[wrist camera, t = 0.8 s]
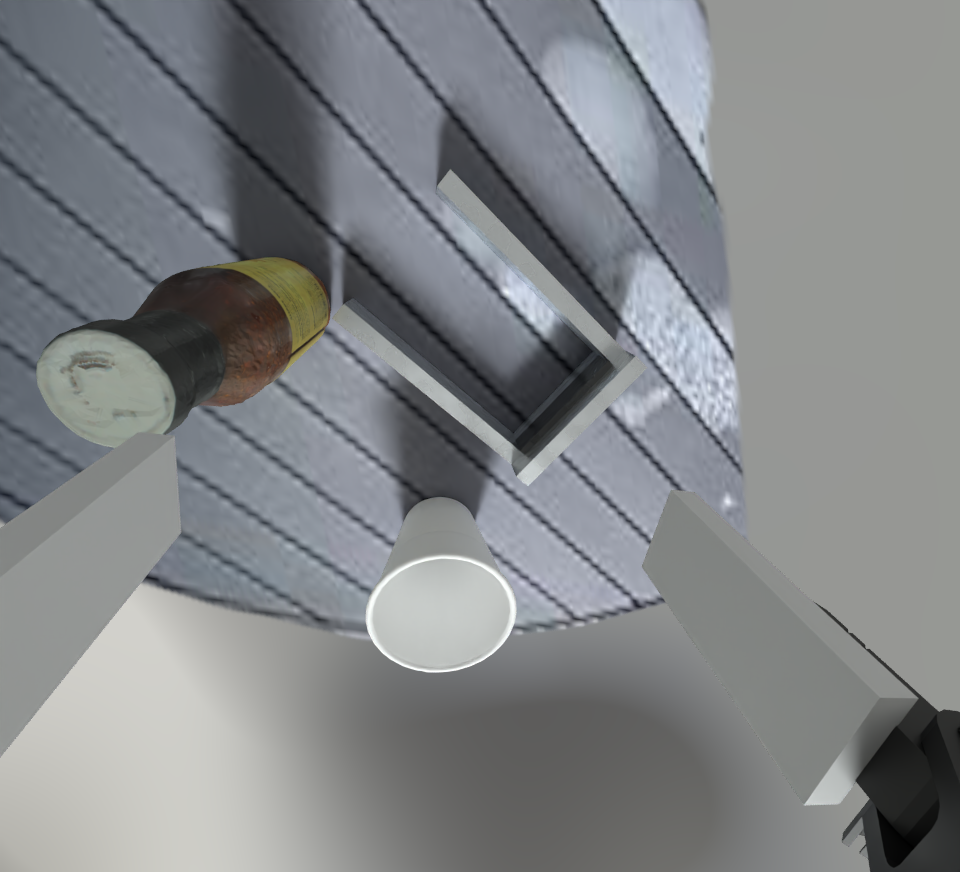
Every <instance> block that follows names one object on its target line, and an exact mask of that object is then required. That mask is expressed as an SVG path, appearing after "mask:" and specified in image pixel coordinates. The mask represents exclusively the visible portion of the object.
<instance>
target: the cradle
mask: <svg viewBox="0 0 960 872" xmlns="http://www.w3.org/2000/svg"><path fill="white" fill-rule="evenodd" d="M436 194H437V195H438V196H439V197H440V198H441V199H442V200H443V201H444V202H445V203H446V204H447V205H448V206H449V207H450V208H451V209H452V210H453V211H454V212H455V213H456V214H457V216H458V217H459V218H460V219H461V220H462V221H463V222H464V223H465V224H466V225H467V226H468V227H469V228H470V229H471V230H472V231H473V232H474V233H475V234H476V235H477V236H478V237H479V238H480V239H481V240H482V241H483V242H484V243H485V244H486V245H487V246H488V247H489V248H490V249H491V250H492V251H493V252H494V253H495V254H496V255H497V256H498V257H499V258H500V259H501V260H502V261H503V262H504V263H505V264H506V265H507V266H508V267H509V268H510V269H511V270H512V271H513V272H514V273H515V274H516V275H517V276H518V277H519V278H520V279H521V280H522V281H523V282H524V283H525V284H526V285H527V286H528V287H529V288H530V289H531V290H532V291H533V292H534V293H535V294H536V295H537V296H538V297H539V298H540V299H541V300H542V301H543V302H544V303H545V304H546V305H547V306H548V307H549V308H550V309H551V310H552V311H553V312H554V313H555V314H556V315H557V316H558V317H559V318H560V319H561V320H562V321H563V322H564V323H565V324H566V325H567V326H568V327H569V328H570V329H571V330H572V331H573V332H574V333H575V334H576V335H577V336H578V337H579V338H580V339H581V340H582V341H583V342H584V343H585V344H586V345H587V346H588V347H589V348H590V349H591V350H592V351H593V352H592V353H591V354H590V355H589V356H588V357H587V358H586V359H585V360H584V361H583V362H582V363H581V364H580V365H579V366H578V367H577V368H576V369H575V370H574V371H573V372H572V373H571V374H570V375H569V376H568V377H567V378H566V379H565V381H564V382H563V383H562V384H561V385H560V386H559V387H558V388H557V389H556V390H555V391H554V392H553V393H552V394H551V395H550V396H549V397H548V398H547V399H546V400H545V401H544V402H543V403H542V404H541V405H540V406H539V407H538V408H537V409H536V411H535V412H534V413H533V414H532V415H531V416H530V417H529V418H528V419H527V420H526V421H525V422H524V423H523V424H522V425H521V426H520V427H519V428H518V429H517V430H516V431H515V432H514V433H512V432H511V431H510V430H509V429H507V428H506V427H505V426H504V425H503V424H502V423H500V422H499V421H498V420H497V419H496V418H494V417H493V416H492V415H491V414H490V413H489V412H487V411H486V410H485V409H484V408H483V407H482V406H480V405H479V404H478V403H477V402H476V401H474V400H473V399H472V398H471V397H470V396H469V395H467V394H466V393H465V392H464V391H463V390H461V389H460V388H459V387H458V386H457V385H456V384H454V383H453V382H452V381H451V380H450V379H448V378H447V377H446V376H445V375H444V374H443V373H441V372H440V371H439V370H438V369H437V368H435V367H434V366H433V365H432V364H431V363H430V362H428V361H427V360H426V359H425V358H424V357H423V356H421V355H420V354H419V353H418V352H417V351H415V350H414V349H413V348H412V347H411V346H410V345H408V344H407V343H406V342H405V341H404V340H402V339H401V338H400V337H399V336H398V335H397V334H395V333H394V332H393V331H392V330H391V329H389V328H388V327H387V326H386V325H385V324H384V323H382V322H381V321H380V320H379V319H378V318H376V317H375V316H374V315H373V314H372V313H371V312H369V311H368V310H367V309H366V308H365V307H363V306H362V305H361V304H360V303H359V302H358V301H356V300H355V299H354V298H352V299H351V300H349V301H347V302H346V303H344V304H343V305H342V307H341V308H340V309H339V310H338V312H337V313H336V314H335V315H334V317H333V318H332V319H334V320H335V321H336V322H337V323H339V324H340V325H341V326H342V327H343V328H345V329H346V330H347V331H348V332H350V333H351V334H352V335H353V336H355V337H356V338H357V339H358V340H359V341H361V342H362V343H363V344H364V345H366V346H367V347H368V348H369V349H370V350H372V351H373V352H374V353H375V354H377V355H378V356H379V357H380V358H382V359H383V360H384V361H385V362H386V363H388V364H389V365H390V366H391V367H393V368H394V369H395V370H396V371H397V372H399V373H400V374H401V375H402V376H404V377H405V378H406V379H407V380H408V381H410V382H411V383H412V384H413V385H415V386H416V387H417V388H418V389H420V390H421V391H422V392H423V393H424V394H426V395H427V396H428V397H429V398H431V399H432V400H433V401H434V402H435V403H437V404H438V405H439V406H440V407H442V408H443V409H444V410H445V411H447V412H448V413H449V414H450V415H451V416H453V417H454V418H455V419H456V420H458V421H459V422H460V423H461V424H462V425H464V426H465V427H466V428H467V429H469V430H470V431H471V432H472V433H473V434H475V435H476V436H477V437H478V438H480V439H481V440H482V441H483V442H485V443H486V444H487V445H488V446H489V447H491V448H492V449H493V450H494V451H496V452H497V453H498V454H499V455H500V456H502V457H503V458H504V459H505V460H507V461H508V462H509V463H510V464H511V465H512V467H513V470H514V472H515V475H516V477H517V478H519V479H520V480H521V481H522V482H524V483H525V484H526V485H527V486H529V485H530V484H531V483H532V482H533V481H534V480H535V479H536V478H537V477H538V476H539V475H540V474H541V473H542V472H543V471H544V470H545V469H546V468H547V467H548V466H549V465H550V464H551V463H552V462H553V461H554V460H555V459H556V458H557V457H558V456H559V455H560V454H561V453H562V452H563V451H564V450H565V449H566V448H567V447H568V446H569V445H570V444H571V443H572V442H573V441H574V440H575V439H576V438H577V437H578V436H579V435H580V434H581V433H582V432H583V431H584V430H585V429H586V428H587V427H588V426H589V425H590V424H591V423H592V422H593V421H594V420H595V419H596V418H597V417H598V416H599V415H600V414H601V413H602V412H603V411H604V410H605V409H606V408H607V407H608V406H609V405H610V404H611V403H612V402H613V401H614V400H615V399H616V398H617V397H618V396H619V395H620V394H621V393H622V392H623V391H624V390H625V389H626V388H627V387H628V386H629V385H630V384H631V383H632V382H633V381H634V380H636V379H637V378H638V377H639V376H640V375H641V374H642V373H643V372H644V371H645V370H646V369H647V367H646V366H645V365H644V364H643V363H642V362H641V361H640V360H639V359H638V358H637V357H636V356H635V355H633V354H631V353H629V352H627V351H625V350H624V349H623V348H622V347H621V346H620V345H619V344H618V343H617V342H616V341H615V340H614V339H613V338H612V337H611V336H610V335H609V334H608V333H607V332H606V331H605V330H604V329H603V328H602V327H601V325H600V324H599V323H598V322H597V321H596V320H595V319H594V318H593V317H592V316H591V315H590V314H589V313H588V312H587V311H586V310H585V309H584V308H583V307H582V306H581V305H580V304H579V303H578V301H577V300H576V299H575V298H574V297H573V296H572V295H571V294H570V293H569V292H568V291H567V290H566V289H565V288H564V287H563V286H562V285H561V284H560V283H559V282H558V281H557V280H556V279H555V278H554V276H553V275H552V274H551V273H550V272H549V271H548V270H547V269H546V268H545V267H544V266H543V265H542V264H541V263H540V262H539V261H538V260H537V259H536V258H535V257H534V256H533V255H532V254H531V253H530V251H529V250H528V249H527V248H526V247H525V246H524V245H523V244H522V243H521V242H520V241H519V240H518V239H517V238H516V237H515V236H514V235H513V234H512V233H511V232H510V231H509V230H508V229H507V228H506V226H505V225H504V224H503V223H502V222H501V221H500V220H499V219H498V218H497V217H496V216H495V215H494V214H493V213H492V212H491V211H490V210H489V209H488V208H487V207H486V206H485V205H484V204H483V203H482V201H481V200H480V199H479V198H478V197H477V196H476V195H475V194H474V193H473V192H472V191H471V190H470V189H469V188H468V187H467V186H466V185H465V184H464V183H463V182H462V181H461V180H460V179H459V177H458V176H457V175H456V174H455V173H454V172H453V171H452V170H451V169H450V170H449V172H448V173H447V174H446V175H445V177H444V178H443V179H442V180H441V182H440V183H439V184H438V186H437V190H436Z"/></svg>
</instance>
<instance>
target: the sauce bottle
mask: <svg viewBox="0 0 960 872" xmlns="http://www.w3.org/2000/svg"><path fill="white" fill-rule="evenodd" d="M330 311H331V309H330V302H329V298H328V295H327V291H326V288H325V286H324V285H323V283H322V281H321V280H320V279H319V278H318V277H317V276H316V275H315V274H314V273H313V272H312V271H311V270H309V269H308V268H307V267H305V266H304V265H302V264H300V263H299V262H297V261H293V260H289V259H283V258H278V257H266V258H259V259H252V260H245V261H239V262H232V263H226V264H218V265H214V266H207V267H200V268H196V269H191V270H187V271H183V272H180V273H177V274H175V275H172V276H170V277H169V278H167V279H165V280H164V281H162V282H161V283H160V284H158V285H157V286H156V287H155V288H154V289H153V291H152V292H151V293H150V294H149V296H148V297H147V299H146V300H145V301H144V303H143V304H142V305H141V307H140V308H139V309H138V311H137V312H136V313H135V315H134V316H133V317H132V318H130V319H127V320H124V321H122V320H115V319H110V320H99V321H94V322H91V323H88V324H85V325H83V326H80V327H77V328H73V329H71V330H69V331H67V332H65V333H62V334H59V335H58V336H56V337H55V338H54V339H53V340H52V341H51V342H50V343H49V344H48V345H47V346H46V348H45V349H44V350H43V352H42V355H41V357H40V358H39V360H38V361H37V371H36V377H37V383H38V387H39V389H40V391H41V394H42V396H43V398H44V400H45V401H46V403H47V405H48V407H49V409H50V410H51V411H52V412H53V413H54V414H55V415H56V416H57V417H58V419H59V420H60V421H61V422H62V423H63V424H64V425H65V426H67V427H68V428H69V429H71V430H72V431H73V432H74V433H75V434H77V435H79V436H81V437H83V438H85V439H87V440H89V441H91V442H93V443H97V444H100V445H103V446H108V447H113V448H116V447H118V446H119V445H121V444H122V443H124V442H125V441H126V440H128V439H129V438H131V437H132V436H134V435H135V434H137V433H138V432H144V433H153V434H162V435H166V434H168V433H169V432H171V431H172V430H174V429H175V428H176V427H178V426H179V425H180V424H181V423H182V422H183V421H184V420H185V418H186V417H187V416H188V414H189V412H190V410H191V409H192V408H193V407H195V406H198V405H206V406H220V407H222V406H228V405H235V404H237V403H242V402H244V401H245V400H246V399H248V398H250V397H253V396H254V395H255V394H257V393H258V392H259V391H260V390H262V389H263V388H264V387H265V386H266V385H268V384H270V383H271V382H273V381H274V380H276V379H277V378H278V377H279V376H280V375H281V374H282V373H284V372H285V371H286V370H287V369H288V368H289V367H290V366H291V365H292V364H293V363H294V362H295V361H296V360H297V359H298V358H300V357H301V356H302V355H303V354H304V353H305V352H306V351H307V350H308V349H309V348H310V347H311V346H312V345H313V344H314V343H316V342H317V340H318V339H319V338H320V337H321V336H322V334H323V333H324V331H325V327H326V326H327V325H328V323H329V320H330Z"/></svg>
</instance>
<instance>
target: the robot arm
mask: <svg viewBox="0 0 960 872" xmlns="http://www.w3.org/2000/svg"><path fill="white" fill-rule="evenodd" d="M180 533H181V522H180V508H179V493H178V479H177V464H176V450H175V436H172V435H162V434H153V433H144V432H138V433H137V434H135V435H134V436H132V437H131V438H129V439H128V440H126V441H125V442H124V443H122V444H121V445H119V446H118V447H116V448H115V449H114V450H112V451H111V452H109V453H108V454H106V455H105V456H103V457H102V458H101V459H99V460H98V461H96V462H95V463H93V464H92V465H90V466H89V467H88V468H86V469H85V470H83V471H82V472H80V473H79V474H77V475H76V476H75V477H73V478H72V479H70V480H69V481H67V482H66V483H65V484H63V485H62V486H60V487H59V488H57V489H56V490H54V491H53V492H52V493H50V494H49V495H47V496H46V497H44V498H43V499H41V500H40V501H39V502H37V503H36V504H34V505H33V506H31V507H30V508H29V509H27V510H26V511H24V512H23V513H21V514H20V515H18V516H17V517H16V518H14V519H13V520H11V521H10V522H8V523H7V524H5V525H4V526H3V527H1V528H0V757H1V756H2V755H3V753H4V752H5V751H6V750H7V749H8V747H9V746H10V745H11V743H12V742H13V741H14V739H16V737H17V736H18V735H19V734H20V732H21V731H22V730H23V729H24V727H25V726H26V725H27V724H28V722H29V721H30V720H31V719H32V717H33V716H34V715H35V713H36V712H37V711H38V710H39V708H41V706H42V705H43V704H44V702H45V701H46V700H47V699H48V698H49V696H50V695H51V694H52V693H53V691H54V690H55V689H56V688H57V686H58V685H59V684H60V683H61V681H62V680H63V679H64V678H65V676H66V675H67V674H68V673H69V671H70V670H71V669H72V667H73V666H74V665H75V664H76V663H77V661H78V660H79V659H80V658H81V657H82V655H83V654H84V653H85V651H86V650H87V649H88V648H89V647H90V645H91V644H92V643H93V641H94V640H95V639H96V638H97V637H98V635H99V634H100V633H101V632H102V630H103V629H104V628H105V627H106V625H107V624H108V623H109V622H110V620H111V619H112V618H113V617H114V616H115V614H116V613H117V612H118V611H119V609H120V608H121V607H122V605H123V604H124V603H125V602H126V601H127V599H128V598H129V597H130V596H131V594H132V593H133V592H134V591H135V589H136V588H137V587H138V586H139V584H140V583H141V582H142V581H143V579H144V578H145V577H146V576H147V574H148V573H149V572H150V571H151V570H152V568H153V567H154V566H155V565H156V563H157V562H158V561H159V560H160V558H161V557H162V556H163V555H164V553H165V552H166V551H167V550H168V548H169V547H170V546H171V545H172V543H173V542H174V541H175V540H176V538H177V537H178V536H179V535H180ZM642 568H643V569H644V571H645V572H646V574H647V575H648V577H649V578H650V580H651V581H652V583H653V584H654V586H655V587H656V589H657V590H658V591H659V593H660V594H661V596H662V597H663V599H664V600H665V602H666V603H667V605H668V606H669V608H670V609H671V611H672V612H673V614H674V615H675V616H676V618H677V619H678V621H679V622H680V624H681V625H682V627H683V628H684V630H685V631H686V633H687V634H688V635H689V637H690V638H691V640H692V641H693V643H694V644H695V645H696V647H697V649H698V650H699V652H700V653H701V655H702V656H703V657H704V659H705V660H706V662H707V663H708V665H709V666H710V668H711V669H712V671H713V672H714V674H715V675H716V677H717V678H718V680H719V681H720V683H721V684H722V686H723V687H724V688H725V690H726V691H727V693H728V694H729V696H730V697H731V699H732V700H733V702H734V703H735V705H736V706H737V708H738V709H739V710H740V712H741V713H742V715H743V716H744V718H745V719H746V721H747V722H748V724H749V725H750V727H751V728H752V730H753V731H754V733H755V734H756V736H757V737H758V738H759V740H760V741H761V743H762V744H763V746H764V747H765V748H766V750H767V752H768V753H769V755H770V756H771V758H772V759H773V760H774V762H775V763H776V765H777V766H778V768H779V769H780V771H781V772H782V774H783V775H784V777H785V778H786V779H787V781H788V783H789V784H790V785H791V787H792V788H793V790H794V791H795V793H796V794H797V796H798V797H799V799H800V800H801V802H802V803H803V805H825V804H840V802H841V801H842V800H843V798H844V797H845V796H846V794H847V793H848V792H849V790H850V789H851V788H852V786H853V785H854V784H855V782H857V783H858V784H859V786H860V787H861V788H862V789H863V791H864V792H865V793H866V794H867V796H868V797H869V798H870V799H869V800H868V802H867V803H866V804H865V806H864V807H863V808H862V809H861V811H860V812H859V813H858V814H857V816H856V817H855V818H854V820H853V821H852V822H851V823H850V825H849V826H848V827H847V828H846V830H845V831H844V833H843V839H842V843H844V844H845V845H847V846H848V847H849V846H850V845H851V844H852V842H853V841H854V840H855V839H856V838H857V836H858V835H862V836H865V840H866V845H865V846H864V847H863V848H862V849H861V851H860V854H861V855H863V856H865V857H866V858H867V859H868V860H869V867H870V872H960V712H958V711H951V710H942V711H940V712H939V711H937V710H936V709H935V708H934V707H933V706H932V705H930V704H929V703H928V702H927V701H926V700H925V699H924V698H923V697H922V696H921V695H920V694H918V693H917V692H916V691H915V690H914V689H913V688H912V687H911V686H910V685H909V684H908V683H906V682H905V681H904V680H903V679H902V678H901V677H899V675H897V674H896V673H895V672H894V671H893V670H892V669H891V668H890V667H889V666H888V665H887V664H886V663H884V662H883V661H882V660H881V659H880V658H879V657H878V656H876V655H875V653H873V652H872V651H871V650H870V649H866V648H865V644H864V643H862V642H861V641H860V640H859V639H858V638H857V637H856V636H855V635H854V634H853V633H848V629H847V628H846V627H845V626H844V625H843V624H842V623H840V622H839V621H838V620H837V619H836V618H835V617H834V616H833V615H831V613H830V612H828V611H827V610H826V609H824V608H823V607H821V606H820V605H818V604H817V603H815V602H814V601H812V600H811V599H810V598H809V597H808V596H806V594H804V593H803V592H802V591H801V590H800V589H799V588H798V587H797V586H796V585H795V584H794V583H793V582H791V581H790V580H789V579H788V578H787V577H786V576H785V575H784V574H783V573H782V572H781V571H780V570H778V569H777V568H776V567H775V566H774V565H773V564H772V563H771V562H770V561H769V560H768V559H766V558H765V557H764V556H763V555H762V554H761V553H760V552H759V551H758V550H757V549H756V548H755V547H753V546H752V545H751V544H750V543H749V542H748V541H747V540H746V539H745V538H744V537H743V536H741V535H740V534H739V533H738V532H737V531H736V530H735V529H734V528H733V527H732V526H731V525H730V524H728V523H727V522H726V521H725V520H724V519H723V518H722V517H721V516H720V515H719V514H718V513H716V512H715V511H714V510H713V509H712V508H711V507H710V506H709V505H708V504H707V503H706V502H704V501H703V500H702V499H701V498H700V497H699V496H698V495H697V494H696V493H695V492H687V491H678V490H671V491H670V494H669V496H668V499H667V501H666V504H665V507H664V509H663V512H662V515H661V517H660V520H659V522H658V525H657V528H656V530H655V533H654V536H653V538H652V541H651V543H650V546H649V549H648V551H647V554H646V557H645V559H644V562H643V564H642Z"/></svg>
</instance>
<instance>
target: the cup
mask: <svg viewBox="0 0 960 872" xmlns="http://www.w3.org/2000/svg"><path fill="white" fill-rule="evenodd" d="M516 612H517V610H516V598H515V595H514V592H513V589H512V587H511V585H510V584H509V582H508V580H507V579H506V577H505V576H504V575H503V574H502V573H501V572H500V570H499V568H498V566H497V564H496V562H495V560H494V558H493V557H492V554H491V553H490V550H489V548H488V547H487V544H486V543H485V540H484V538H483V537H482V534H481V532H480V531H479V528H478V526H477V524H476V522H475V520H474V518H473V516H472V514H471V513H470V511H469V510H468V509H467V508H466V507H465V506H464V505H463V504H462V503H460V502H458V501H456V500H454V499H451V498H446V497H434V498H429V499H426V500H423V501H421V502H419V503H418V504H416V505H415V506H414V507H413V508H412V509H411V510H410V511H409V512H408V514H407V516H406V517H405V520H404V522H403V525H402V527H401V530H400V532H399V535H398V537H397V540H396V542H395V545H394V547H393V549H392V552H391V555H390V557H389V559H388V562H387V564H386V566H385V568H384V571H383V573H382V576H381V578H380V581H379V582H378V583H377V584H376V586H375V587H374V589H373V591H372V593H371V594H370V596H369V600H368V603H367V607H366V624H367V629H368V632H369V634H370V636H371V638H372V640H373V642H374V644H375V645H376V646H377V647H378V648H379V650H380V651H381V652H382V653H383V654H384V655H386V656H387V657H388V658H390V659H391V660H392V661H394V662H396V663H398V664H400V665H402V666H404V667H408V668H411V669H414V670H419V671H426V672H448V671H455V670H459V669H463V668H466V667H469V666H472V665H474V664H476V663H478V662H480V661H482V660H484V659H485V658H487V657H488V656H490V655H491V654H493V653H494V652H495V651H496V650H497V649H498V648H499V647H500V646H501V645H502V644H503V643H504V641H505V640H506V639H507V637H508V636H509V634H510V632H511V630H512V628H513V625H514V623H515V617H516Z"/></svg>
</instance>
